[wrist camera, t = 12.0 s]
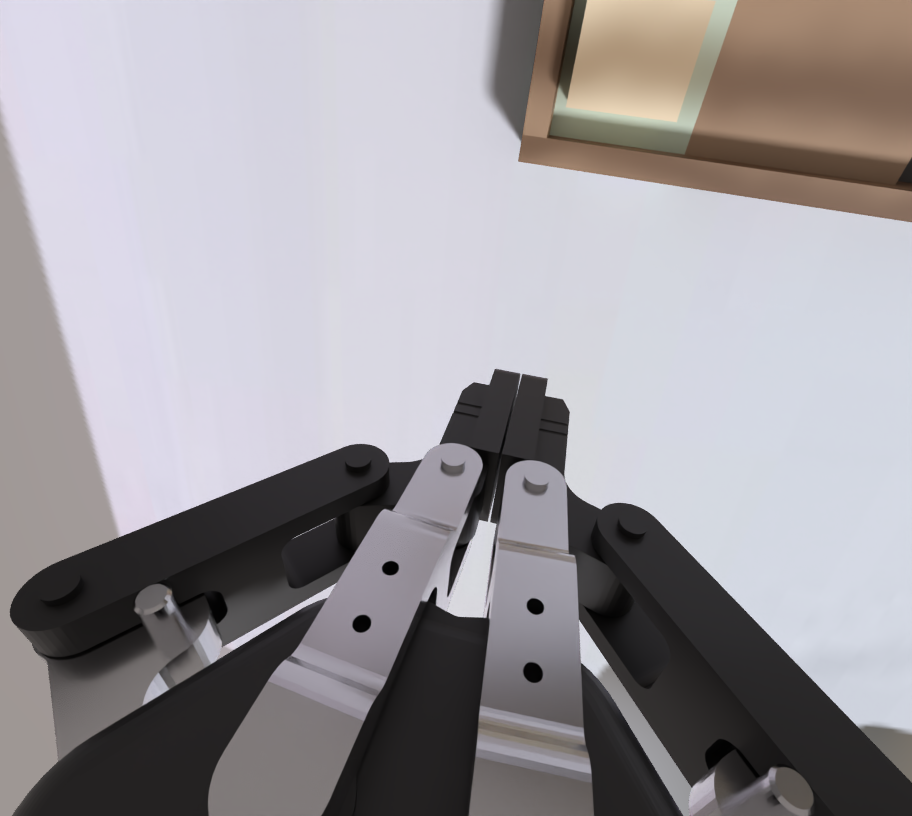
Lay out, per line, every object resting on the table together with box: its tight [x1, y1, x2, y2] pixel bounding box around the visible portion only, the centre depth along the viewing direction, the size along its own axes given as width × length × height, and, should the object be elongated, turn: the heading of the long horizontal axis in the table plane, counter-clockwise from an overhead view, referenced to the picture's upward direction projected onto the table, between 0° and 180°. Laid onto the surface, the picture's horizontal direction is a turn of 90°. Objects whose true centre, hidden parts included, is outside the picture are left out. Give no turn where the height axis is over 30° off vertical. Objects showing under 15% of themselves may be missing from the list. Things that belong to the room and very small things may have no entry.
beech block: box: [566, 0, 716, 122], centre depth 26 cm, size 5×6×4 cm
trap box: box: [518, 0, 912, 222], centre depth 26 cm, size 12×32×5 cm, turn 84°
